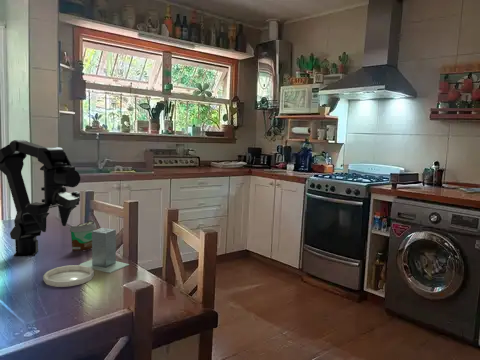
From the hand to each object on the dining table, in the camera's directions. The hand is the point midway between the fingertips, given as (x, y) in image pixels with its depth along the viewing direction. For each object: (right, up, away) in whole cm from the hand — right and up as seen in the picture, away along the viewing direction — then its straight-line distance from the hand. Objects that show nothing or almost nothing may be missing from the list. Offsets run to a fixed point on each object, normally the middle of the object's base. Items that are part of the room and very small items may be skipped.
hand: (54, 228), depth 135 cm
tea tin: (+18, -12, -1) cm, 21 cm away
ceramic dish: (+11, -14, -13) cm, 22 cm away
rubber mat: (+17, -13, -1) cm, 22 cm away
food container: (+4, -10, +18) cm, 21 cm away
